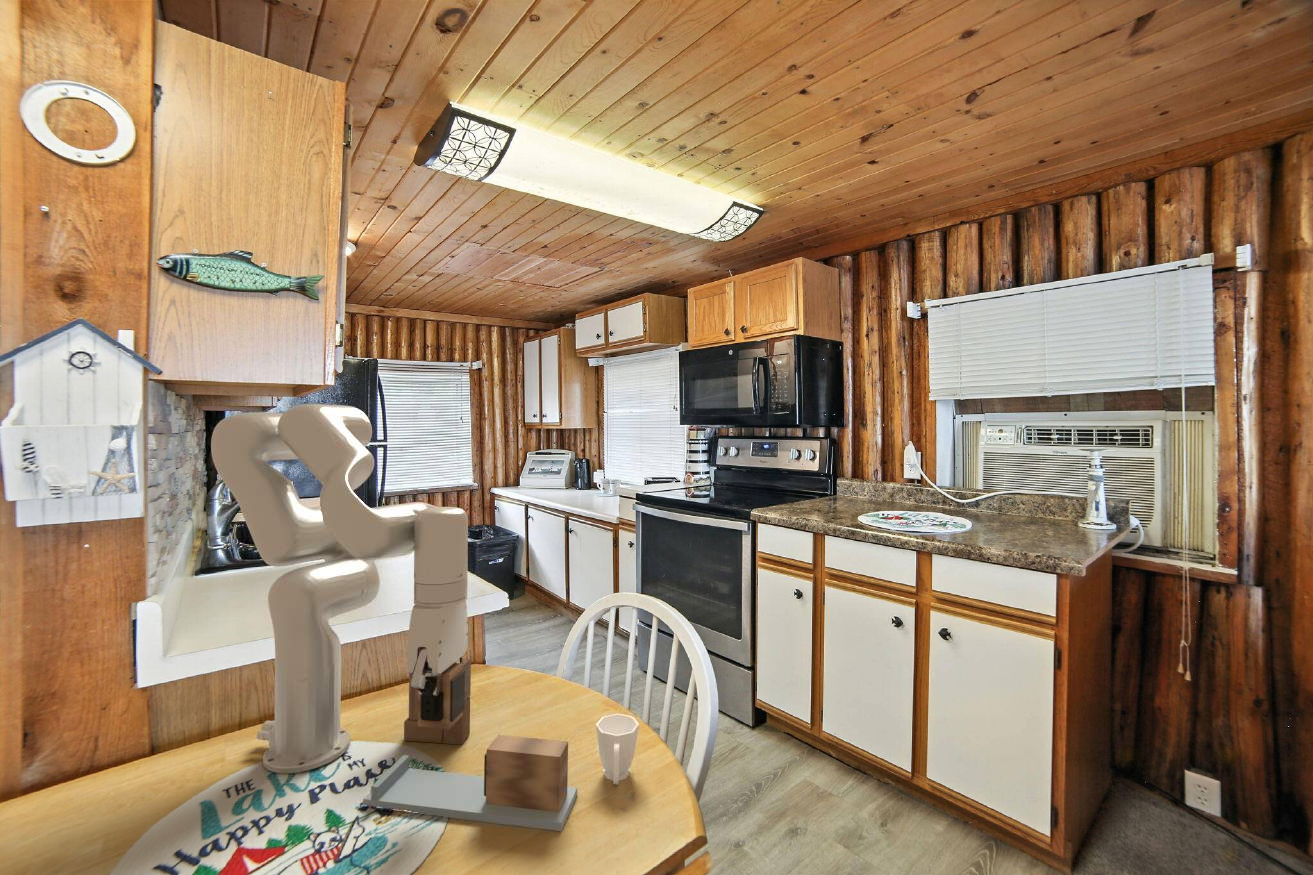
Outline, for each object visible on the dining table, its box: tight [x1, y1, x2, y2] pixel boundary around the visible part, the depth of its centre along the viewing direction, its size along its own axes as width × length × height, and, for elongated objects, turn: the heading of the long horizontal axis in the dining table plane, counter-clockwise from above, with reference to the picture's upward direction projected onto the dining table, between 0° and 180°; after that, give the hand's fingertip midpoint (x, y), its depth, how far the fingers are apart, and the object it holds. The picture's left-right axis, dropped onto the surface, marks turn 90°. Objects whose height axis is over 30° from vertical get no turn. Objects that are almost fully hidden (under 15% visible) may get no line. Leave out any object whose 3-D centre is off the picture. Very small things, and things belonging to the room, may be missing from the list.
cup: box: [595, 713, 640, 785], centre depth 91 cm, size 7×10×8 cm
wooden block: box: [403, 657, 472, 745], centre depth 101 cm, size 4×11×18 cm, turn 85°
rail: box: [362, 754, 578, 832], centre depth 85 cm, size 30×8×3 cm, turn 82°
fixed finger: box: [483, 734, 569, 812], centre depth 84 cm, size 11×4×8 cm, turn 82°
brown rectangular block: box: [418, 662, 465, 729], centre depth 85 cm, size 5×4×8 cm
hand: (440, 710), depth 85 cm, fingers closed on brown rectangular block, 4 cm apart
